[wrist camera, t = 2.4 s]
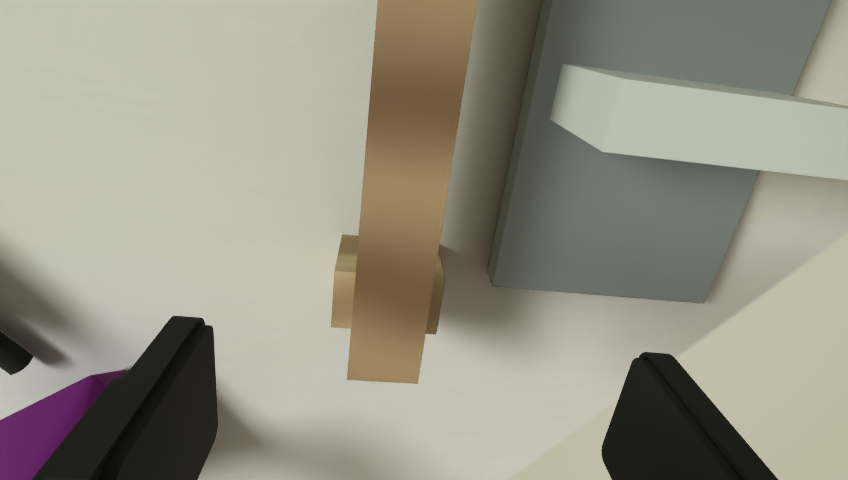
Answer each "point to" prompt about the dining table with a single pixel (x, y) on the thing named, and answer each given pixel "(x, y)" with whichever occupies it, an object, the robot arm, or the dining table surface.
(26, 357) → the handheld radio
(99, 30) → the dining table surface
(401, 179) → the walnut bar
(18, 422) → the purple potion bottle
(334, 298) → the bar rest
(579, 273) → the stand
